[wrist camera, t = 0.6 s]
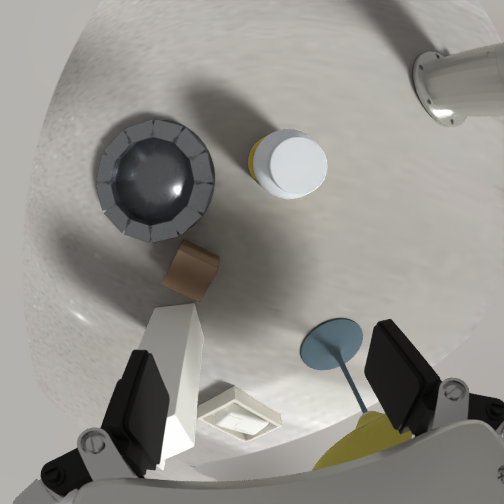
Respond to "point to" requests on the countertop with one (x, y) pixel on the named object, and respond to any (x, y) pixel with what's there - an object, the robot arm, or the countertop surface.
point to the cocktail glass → (370, 423)
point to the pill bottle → (287, 164)
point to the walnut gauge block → (191, 271)
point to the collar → (155, 180)
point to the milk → (177, 370)
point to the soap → (239, 419)
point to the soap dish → (243, 399)
